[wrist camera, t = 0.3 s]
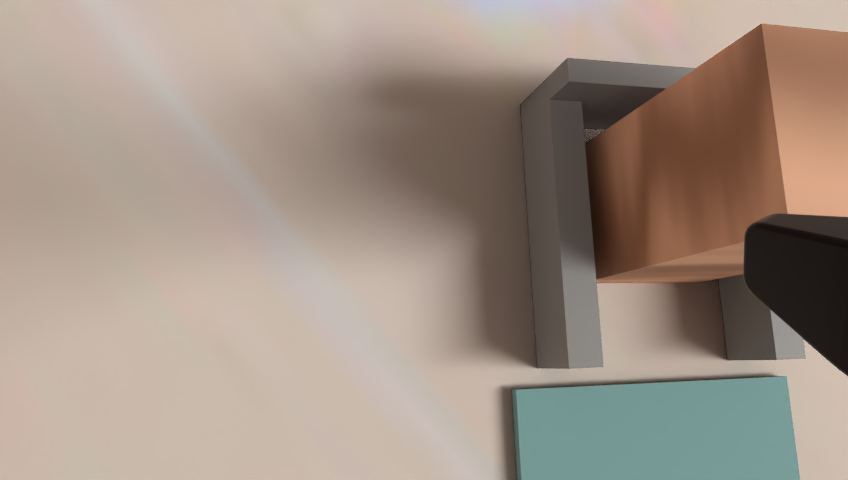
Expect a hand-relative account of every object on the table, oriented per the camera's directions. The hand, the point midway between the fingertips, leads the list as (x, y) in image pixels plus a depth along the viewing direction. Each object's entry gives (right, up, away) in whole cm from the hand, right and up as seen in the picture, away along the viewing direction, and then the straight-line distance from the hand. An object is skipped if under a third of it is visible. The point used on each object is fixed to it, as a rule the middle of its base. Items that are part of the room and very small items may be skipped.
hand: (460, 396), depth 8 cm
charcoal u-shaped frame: (+8, +3, +18) cm, 20 cm away
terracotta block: (+8, +3, +18) cm, 20 cm away
